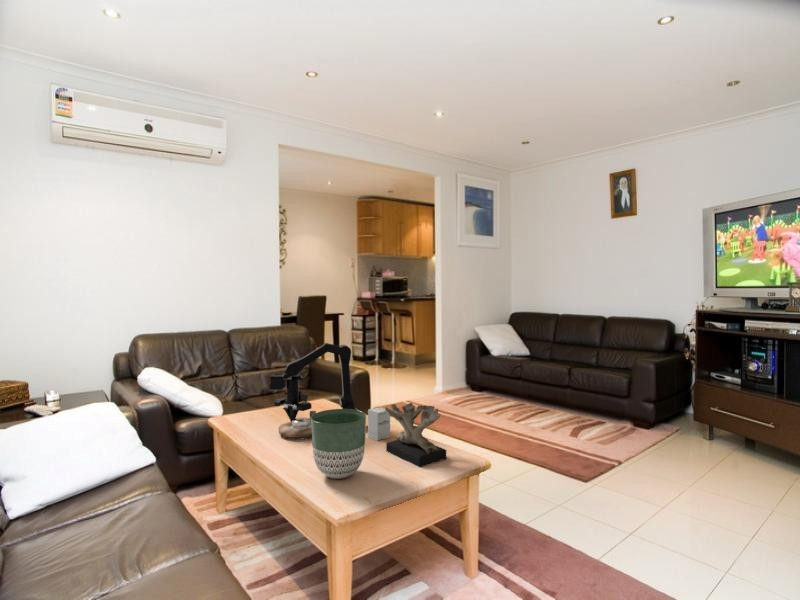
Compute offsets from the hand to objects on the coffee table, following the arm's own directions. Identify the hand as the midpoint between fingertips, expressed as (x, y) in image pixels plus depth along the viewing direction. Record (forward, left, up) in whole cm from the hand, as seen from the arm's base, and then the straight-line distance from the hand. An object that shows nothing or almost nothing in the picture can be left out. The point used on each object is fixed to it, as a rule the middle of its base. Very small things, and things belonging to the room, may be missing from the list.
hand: (292, 422), depth 211 cm
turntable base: (-5, 0, -4) cm, 7 cm away
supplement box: (-39, -14, -5) cm, 42 cm away
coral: (-64, 0, -5) cm, 64 cm away
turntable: (-5, 0, -3) cm, 6 cm away
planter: (-50, +28, -5) cm, 58 cm away
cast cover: (-5, 0, -1) cm, 5 cm away
